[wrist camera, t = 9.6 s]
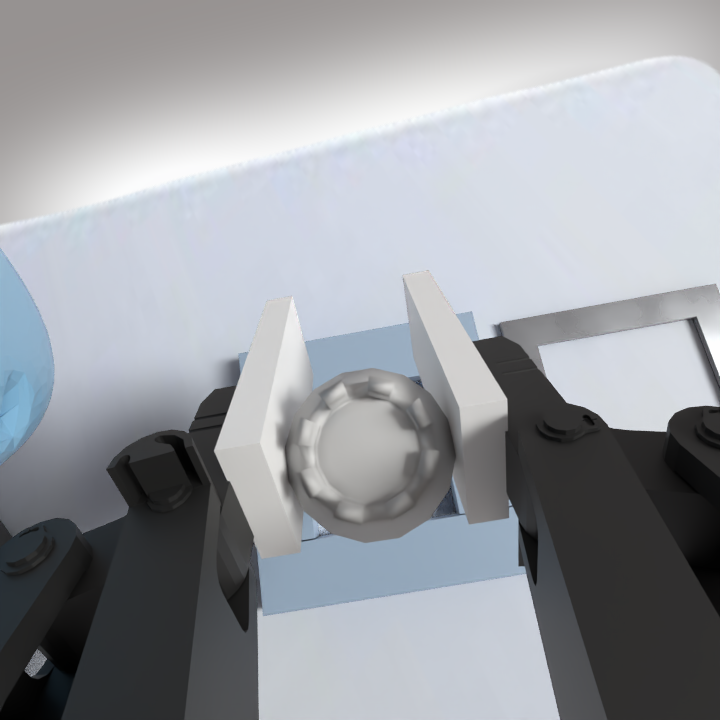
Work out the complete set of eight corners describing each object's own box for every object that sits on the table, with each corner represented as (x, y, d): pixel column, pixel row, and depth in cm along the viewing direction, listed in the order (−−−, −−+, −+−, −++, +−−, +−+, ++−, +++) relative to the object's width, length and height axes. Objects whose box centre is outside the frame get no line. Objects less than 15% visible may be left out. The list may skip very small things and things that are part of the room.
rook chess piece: (352, 380, 16) (308, 288, 8) (468, 432, 15) (538, 383, 8) (295, 496, 15) (190, 512, 8) (416, 558, 14) (436, 648, 7)
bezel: (558, 548, 20) (560, 549, 20) (499, 324, 23) (500, 322, 23) (802, 508, 20) (808, 509, 20) (711, 286, 23) (715, 283, 23)
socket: (269, 608, 21) (261, 616, 19) (245, 359, 24) (237, 353, 23) (529, 566, 20) (538, 571, 19) (469, 319, 23) (473, 311, 22)
